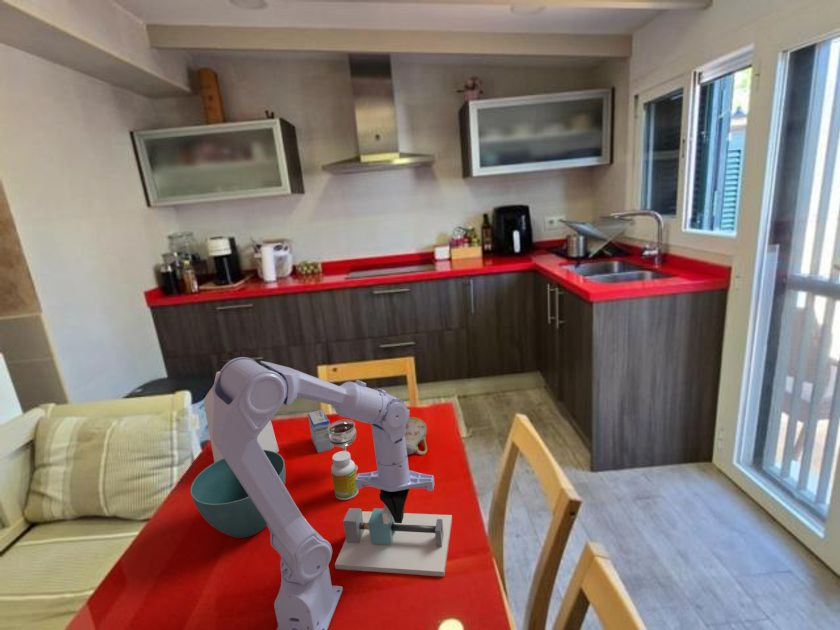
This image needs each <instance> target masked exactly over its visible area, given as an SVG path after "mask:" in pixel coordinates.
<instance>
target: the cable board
mask: <svg viewBox="0 0 840 630" xmlns="http://www.w3.org/2000/svg"><path fill="white" fill-rule="evenodd" d="M372 512H373V511H366V510H365V511H362V508H359V507H358V508H356V507H354V508H353V507H349V508H348V510H347V512H346V514H345V516H344V518H343V521H342V523H343V528H344V533H345V534H344V535H345V540H344V542H343V545H342V547H341V549H340V551H339V553H338V556H337V558H336V561H335V563H334V568H335V570H346V571H361V572H372V573H373V572H376V573H388V574H389V573H391V574H402V575H403V574H404V575H405V574H406V575H417V576H418V575H419V576H431V577H445V572H446V568H447V567H446V565H447V559H448V552H449V544H450V539H451V531H452V530H451V529H452V523H453V515H452V514H436V513H434V514H432V513H431V514H430V513H411V512H410V513H409V512H404V517H403V520H402V523H395V524H392V526H391V530H392V531H395V533H392V538H393V541H392V544H374V543H371V539H370V532H369V526H368V522H369V520H370V517H371V514H372Z"/></svg>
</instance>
